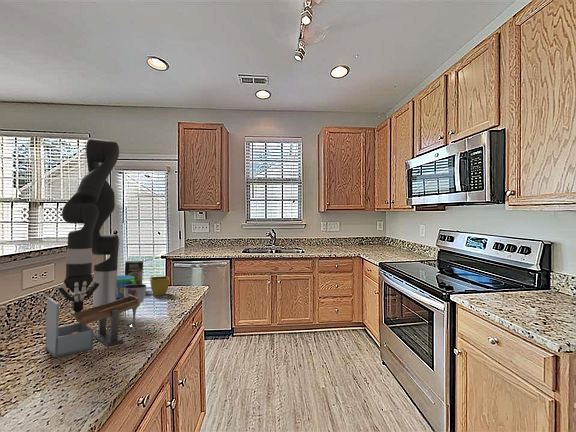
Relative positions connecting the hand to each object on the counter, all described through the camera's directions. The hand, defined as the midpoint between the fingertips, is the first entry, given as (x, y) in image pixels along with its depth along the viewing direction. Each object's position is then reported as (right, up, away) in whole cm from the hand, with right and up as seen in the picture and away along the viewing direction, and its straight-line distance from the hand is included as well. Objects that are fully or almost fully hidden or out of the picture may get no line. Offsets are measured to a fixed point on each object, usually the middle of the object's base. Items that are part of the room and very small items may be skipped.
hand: (77, 311), depth 115 cm
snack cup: (-12, -9, +55) cm, 57 cm away
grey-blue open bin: (+3, -9, -9) cm, 13 cm away
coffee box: (-13, -9, +69) cm, 71 cm away
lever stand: (+10, -9, 0) cm, 14 cm away
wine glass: (+12, -10, +16) cm, 22 cm away
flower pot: (+4, -9, +63) cm, 64 cm away
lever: (+8, 0, +3) cm, 8 cm away
